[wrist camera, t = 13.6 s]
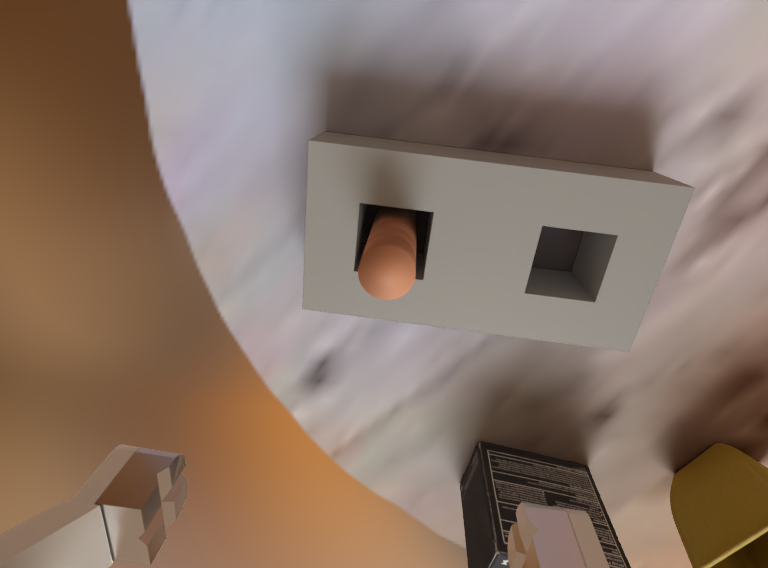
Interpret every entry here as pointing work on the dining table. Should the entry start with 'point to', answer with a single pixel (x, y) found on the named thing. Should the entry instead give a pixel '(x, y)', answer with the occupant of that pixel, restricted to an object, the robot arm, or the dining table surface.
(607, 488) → the dining table surface
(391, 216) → the peg
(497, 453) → the small box
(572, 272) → the hole block
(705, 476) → the flower pot
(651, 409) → the dining table surface
